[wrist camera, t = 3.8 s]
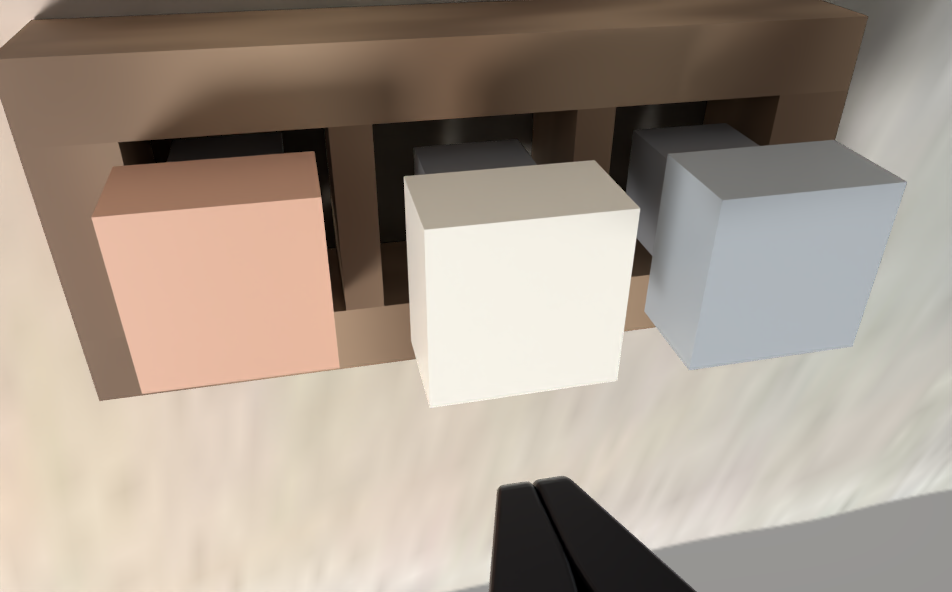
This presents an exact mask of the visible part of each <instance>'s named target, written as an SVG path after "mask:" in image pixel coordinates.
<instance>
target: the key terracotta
mask: <svg viewBox="0 0 952 592" xmlns="http://www.w3.org/2000/svg"><path fill="white" fill-rule="evenodd" d="M91 218H92V222H93V225H94V229H95V232H96V236H97V239H98V243H99V246H100V249H101V253H102V256H103V260H104V263H105V267H106V270H107V274H108V277H109V281H110V284H111V288H112V291H113V295H114V298H115V302H116V305H117V308H118V312H119V315H120V319H121V322H122V326H123V329H124V333H125V336H126V340H127V343H128V347H129V350H130V354H131V357H132V361H133V364H134V367H135V371H136V374H137V378H138V381H139V385H140V388H141V392H142V394H146V393H154V392H161V391H169V390H176V389H184V388H191V387H199V386H206V385H214V384H222V383H229V382H237V381H244V380H252V379H259V378H267V377H275V376H282V375H290V374H297V373H305V372H312V371H320V370H327V369H335V368H340V365H339V356H338V347H337V337H336V328H335V319H334V310H333V301H332V291H331V282H330V273H329V264H328V255H327V245H326V236H325V227H324V218H323V209H322V199H321V192H320V185H319V179H318V172H317V165H316V159H315V152H314V151H309V152H296V153H284V147H283V140H282V132H272V133H258V134H244V135H230V136H216V137H202V138H188V139H174V140H172V144H171V148H170V151H169V155H168V158H167V162H165V163H152V164H139V165H126V166H113V167H112V170H111V172H110V174H109V177H108V179H107V182H106V184H105V186H104V189H103V191H102V193H101V196H100V198H99V200H98V203H97V205H96V208H95V210H94V212H93V215H92V217H91Z"/></svg>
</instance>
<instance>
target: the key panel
mask: <svg viewBox="0 0 952 592" xmlns="http://www.w3.org/2000/svg"><path fill="white" fill-rule="evenodd" d="M867 19H868V16H866V15H863V14H860V13H857V12H854V11H852V10H849V9H846V8H843V7H840V6H837V5H834V4H831V3H828V2H825V1H822V0H513V1H488V2H464V3H439V4H414V5H390V6H365V7H340V8H316V9H291V10H266V11H242V12H217V13H192V14H168V15H143V16H118V17H94V18H69V19H44V20H31V21H30V22H29V23H28V24H27V25H26V26H24V27H23V28H22V29H21V30H20V31H19V32H18V33H17V34H16V35H14V36H13V37H12V38H11V39H10V40H9V41H8V42H7V43H6V44H5V45H3V46H2V47H1V48H0V99H1V102H2V105H3V108H4V111H5V114H6V117H7V120H8V123H9V126H10V129H11V132H12V135H13V138H14V141H15V144H16V148H17V151H18V154H19V157H20V160H21V163H22V166H23V169H24V172H25V175H26V178H27V181H28V184H29V187H30V190H31V193H32V196H33V199H34V202H35V205H36V208H37V212H38V215H39V218H40V221H41V224H42V227H43V230H44V233H45V236H46V239H47V242H48V245H49V248H50V251H51V254H52V257H53V260H54V263H55V266H56V269H57V273H58V276H59V279H60V282H61V285H62V288H63V291H64V294H65V297H66V300H67V303H68V306H69V309H70V312H71V315H72V318H73V321H74V324H75V327H76V330H77V333H78V337H79V340H80V343H81V346H82V349H83V352H84V355H85V358H86V361H87V364H88V367H89V370H90V373H91V376H92V379H93V382H94V385H95V388H96V391H97V394H98V397H99V401H103V400H110V399H118V398H125V397H133V396H140V395H148V394H155V393H163V392H171V391H178V390H186V389H193V388H201V387H208V386H216V385H223V384H231V383H238V382H246V381H253V380H261V379H269V378H276V377H284V376H291V375H299V374H306V373H314V372H321V371H329V370H336V369H344V368H352V367H359V366H367V365H374V364H382V363H389V362H397V361H404V360H412V359H416V357H415V353H414V349H413V346H412V342H411V326H410V304H409V282H408V260H407V241H401V242H391V243H381V244H380V234H379V219H378V204H377V189H376V174H375V159H374V144H373V129H372V124H383V123H397V122H411V121H425V120H439V119H453V118H467V117H481V116H496V115H510V114H524V113H534V115H533V135H532V155H531V157H532V159H533V160H534V161H535V162H536V164H537V165H543V164H554V163H566V162H578V161H590V160H595V161H596V162H597V163H598V164H599V165H600V166H601V167H602V168H603V169H604V171H605V172H606V173H607V174H608V175H609V169H610V160H611V151H612V142H613V132H614V123H615V114H616V107H623V106H637V105H651V104H665V103H679V102H693V101H707V105H706V111H705V117H704V122H703V125H706V124H719V123H727V124H728V125H730V126H731V127H733V128H734V129H736V130H737V131H739V132H740V133H742V134H743V135H745V136H746V137H747V138H749V139H750V140H752V141H753V142H755V143H756V144H758V145H759V146H766V145H778V144H790V143H802V142H814V141H825V140H835V138H836V134H837V131H838V127H839V123H840V119H841V116H842V112H843V108H844V105H845V101H846V97H847V94H848V90H849V86H850V82H851V79H852V75H853V71H854V68H855V64H856V60H857V56H858V53H859V49H860V45H861V42H862V38H863V34H864V31H865V27H866V23H867ZM312 128H324V135H325V145H326V155H327V165H328V175H329V185H330V194H331V204H332V214H333V224H334V234H335V244H336V248H332V249H327V255H328V264H329V273H330V282H331V291H332V301H333V310H334V319H335V328H336V337H337V347H338V356H339V365H340V368H335V369H327V370H320V371H312V372H305V373H297V374H290V375H282V376H275V377H267V378H259V379H252V380H244V381H237V382H229V383H222V384H214V385H206V386H199V387H191V388H184V389H176V390H169V391H161V392H154V393H146V394H142V392H141V388H140V385H139V381H138V378H137V374H136V371H135V367H134V364H133V361H132V357H131V354H130V350H129V347H128V343H127V340H126V336H125V333H124V329H123V326H122V322H121V319H120V315H119V312H118V308H117V305H116V302H115V298H114V295H113V291H112V288H111V284H110V281H109V277H108V274H107V270H106V267H105V263H104V260H103V256H102V253H101V249H100V246H99V243H98V239H97V236H96V232H95V229H94V225H93V222H92V218H91V217H92V215H93V212H94V210H95V208H96V205H97V203H98V200H99V198H100V196H101V193H102V191H103V189H104V186H105V184H106V182H107V179H108V177H109V174H110V172H111V170H112V167H113V166H126V165H139V164H152V163H155V159H154V154H153V150H152V146H151V141H150V140H157V139H171V138H185V137H199V136H213V135H227V134H241V133H256V132H270V131H284V130H298V129H312ZM651 263H652V255H651V254H650V253H649V252H648V251H647V249H646V248H645V247H644V246H643V245H642V244H641V243H640V241H639V240H638V239H637V238H636V244H635V252H634V259H633V267H632V274H631V281H630V289H629V296H628V304H627V311H626V318H625V326H624V331H631V330H638V329H646V328H653V327H656V326H655V325H654V324H653V322H652V321H651V320H650V318H649V317H648V316H647V314H646V313H645V312H644V310H645V303H646V296H647V290H648V283H649V276H650V270H651Z"/></svg>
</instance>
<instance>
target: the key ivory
mask: <svg viewBox="0 0 952 592" xmlns="http://www.w3.org/2000/svg"><path fill="white" fill-rule="evenodd" d="M414 174H415V175H413V176H404V194H405V216H406V238H407V260H408V282H409V304H410V326H411V342H412V346H413V349H414V353H415V357H416V360H417V364H418V367H419V371H420V375H421V378H422V382H423V385H424V389H425V393H426V396H427V400H428V403H429V407H430V408H434V407H440V406H447V405H454V404H461V403H468V402H475V401H482V400H488V399H495V398H502V397H509V396H516V395H523V394H530V393H536V392H543V391H550V390H557V389H564V388H571V387H578V386H584V385H591V384H598V383H605V382H612V381H617V378H618V370H619V363H620V356H621V348H622V341H623V333H624V326H625V318H626V311H627V304H628V296H629V289H630V281H631V274H632V267H633V259H634V252H635V244H636V237H637V229H638V222H639V215H640V208H639V206H638V205H637V204H636V203H635V202H634V201H633V200H632V199H631V198H630V197H629V196H628V195H627V194H626V193H625V192H624V191H623V190H622V189H621V187H620V186H619V185H618V184H617V183H616V182H615V181H614V180H613V179H612V178H611V177H610V176H609V175H608V174H607V173H606V172H605V171H604V169H603V168H602V167H601V166H600V165H599V164H598V163H597V162H596V161H595V160H590V161H578V162H566V163H554V164H543V165H537V164H536V162H535V161H534V160H533V159H532V157H531V156H530V155H529V153H528V152H527V151H526V150H525V148H524V147H523V146H522V144H521V143H520V142H519V140H518V139H513V140H500V141H487V142H474V143H461V144H449V145H436V146H423V147H414Z"/></svg>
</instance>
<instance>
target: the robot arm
mask: <svg viewBox="0 0 952 592" xmlns="http://www.w3.org/2000/svg"><path fill="white" fill-rule="evenodd" d="M489 592H696V591H695V590H694V589H693V588H692V587H691V586H690V585H689V584H687V583H686V582H685V581H684V580H683V579H682V578H681V577H680V576H678V575H677V574H676V573H675V572H674V571H673V570H672V569H671V568H670V567H668V566H667V565H666V564H665V563H664V562H663V561H661V560H660V559H659V558H658V557H657V556H656V555H655V554H654V553H653V552H652V551H650V550H649V549H648V548H647V547H646V546H645V545H644V544H643V543H642V542H640V541H639V540H638V539H637V538H636V537H635V536H634V535H633V534H631V533H630V532H629V531H628V530H627V529H626V528H625V527H624V526H623V525H621V524H620V523H619V522H618V521H617V520H616V519H615V518H614V517H612V516H611V515H610V514H609V513H608V512H607V511H606V510H605V509H604V508H602V507H601V506H600V505H599V504H598V503H597V502H596V501H595V500H593V499H592V498H591V497H590V496H589V495H588V494H587V493H586V492H585V491H583V490H582V489H581V488H580V487H579V486H578V485H577V484H576V483H574V482H573V481H572V480H571V479H570V478H568V477H565V476H559V477H552V478H546V479H539V480H536V481H535V482H534V483H533V485H532V484H531V483H530V482H520V483H513V484H507V485H502V486H500V487H499V488H498V490H497V499H496V511H495V523H494V535H493V547H492V559H491V571H490V583H489Z"/></svg>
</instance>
